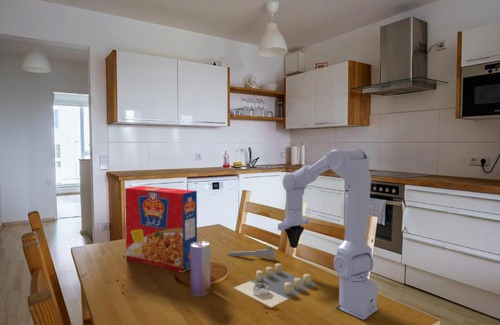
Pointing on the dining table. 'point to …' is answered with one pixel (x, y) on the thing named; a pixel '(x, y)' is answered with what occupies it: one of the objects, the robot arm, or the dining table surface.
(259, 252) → the caliper
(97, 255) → the dining table surface
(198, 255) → the beverage can
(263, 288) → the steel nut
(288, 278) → the board
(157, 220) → the pasta box
